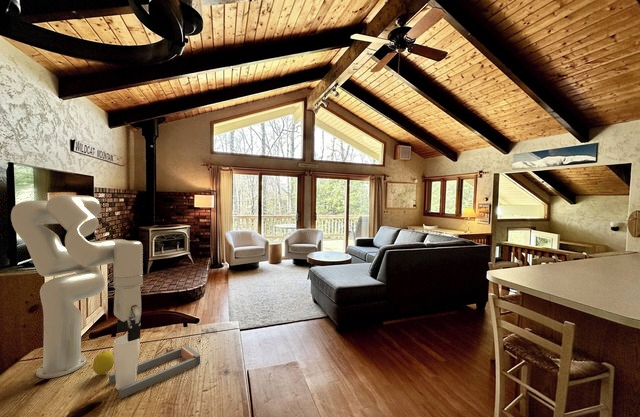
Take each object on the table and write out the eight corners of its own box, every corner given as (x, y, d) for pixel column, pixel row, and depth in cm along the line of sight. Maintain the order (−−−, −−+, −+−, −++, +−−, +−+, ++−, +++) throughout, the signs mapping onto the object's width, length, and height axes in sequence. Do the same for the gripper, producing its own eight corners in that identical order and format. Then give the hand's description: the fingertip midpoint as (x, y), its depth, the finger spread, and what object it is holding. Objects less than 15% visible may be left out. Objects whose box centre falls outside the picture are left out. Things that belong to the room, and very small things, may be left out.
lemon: (112, 367, 95) (112, 344, 95) (115, 375, 91) (115, 351, 91) (91, 374, 91) (92, 350, 91) (93, 382, 88) (94, 357, 87)
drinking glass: (125, 394, 82) (126, 344, 82) (106, 390, 84) (107, 342, 83) (144, 380, 89) (145, 334, 89) (126, 377, 90) (127, 332, 90)
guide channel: (109, 382, 87) (109, 372, 87) (185, 352, 106) (185, 344, 106) (120, 399, 80) (120, 388, 80) (200, 363, 99) (200, 354, 99)
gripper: (105, 278, 88) (105, 331, 88) (123, 288, 78) (123, 348, 78) (132, 274, 94) (132, 323, 94) (152, 282, 83) (152, 339, 83)
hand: (128, 335), depth 86 cm, fingers open, 9 cm apart
